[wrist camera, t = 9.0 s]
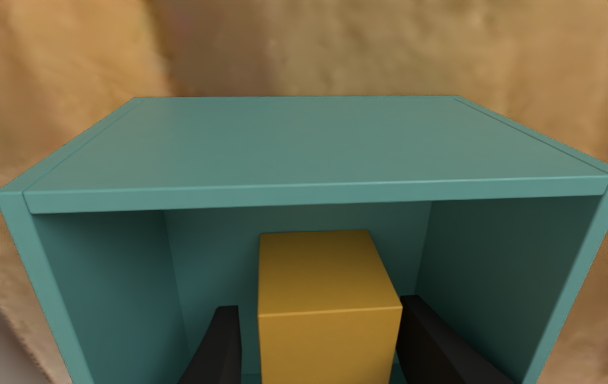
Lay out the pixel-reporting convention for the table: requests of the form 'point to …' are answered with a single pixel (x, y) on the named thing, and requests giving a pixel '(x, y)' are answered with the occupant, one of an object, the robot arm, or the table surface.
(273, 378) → the cube
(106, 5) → the table surface
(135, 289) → the teal box
